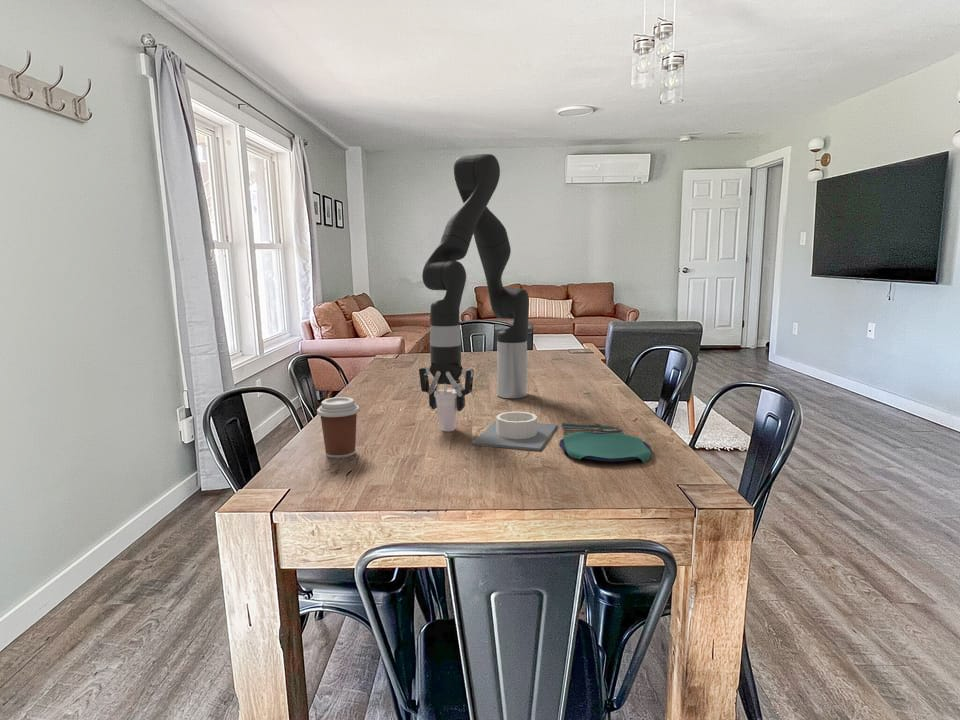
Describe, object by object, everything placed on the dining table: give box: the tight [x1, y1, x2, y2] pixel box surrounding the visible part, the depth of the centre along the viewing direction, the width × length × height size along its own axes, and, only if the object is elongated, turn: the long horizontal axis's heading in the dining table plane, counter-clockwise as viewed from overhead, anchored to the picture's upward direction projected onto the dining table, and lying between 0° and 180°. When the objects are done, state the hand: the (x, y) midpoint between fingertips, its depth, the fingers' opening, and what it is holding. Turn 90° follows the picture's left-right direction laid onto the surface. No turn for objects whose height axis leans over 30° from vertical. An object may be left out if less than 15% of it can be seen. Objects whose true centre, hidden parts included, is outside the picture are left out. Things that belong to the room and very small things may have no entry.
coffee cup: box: [316, 396, 360, 459], centre depth 128 cm, size 9×9×12 cm
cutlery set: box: [558, 422, 652, 463], centre depth 133 cm, size 20×30×2 cm, turn 176°
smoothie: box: [434, 384, 458, 432], centre depth 145 cm, size 6×6×14 cm
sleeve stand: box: [471, 411, 558, 452], centre depth 140 cm, size 20×16×5 cm
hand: (446, 409), depth 145 cm, fingers closed on smoothie, 6 cm apart
